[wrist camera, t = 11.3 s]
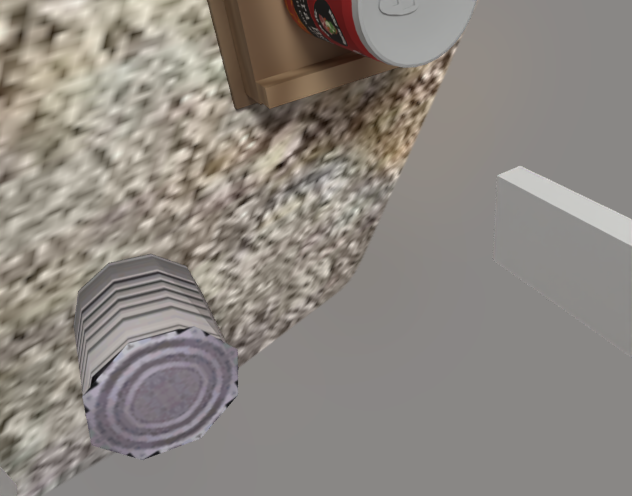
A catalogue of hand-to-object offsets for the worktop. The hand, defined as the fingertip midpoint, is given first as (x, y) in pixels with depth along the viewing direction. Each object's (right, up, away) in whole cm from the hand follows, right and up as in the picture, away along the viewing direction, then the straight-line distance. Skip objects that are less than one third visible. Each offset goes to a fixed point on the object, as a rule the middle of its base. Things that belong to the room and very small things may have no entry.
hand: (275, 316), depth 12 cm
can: (-15, -4, +35) cm, 38 cm away
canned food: (+2, +20, +25) cm, 32 cm away
